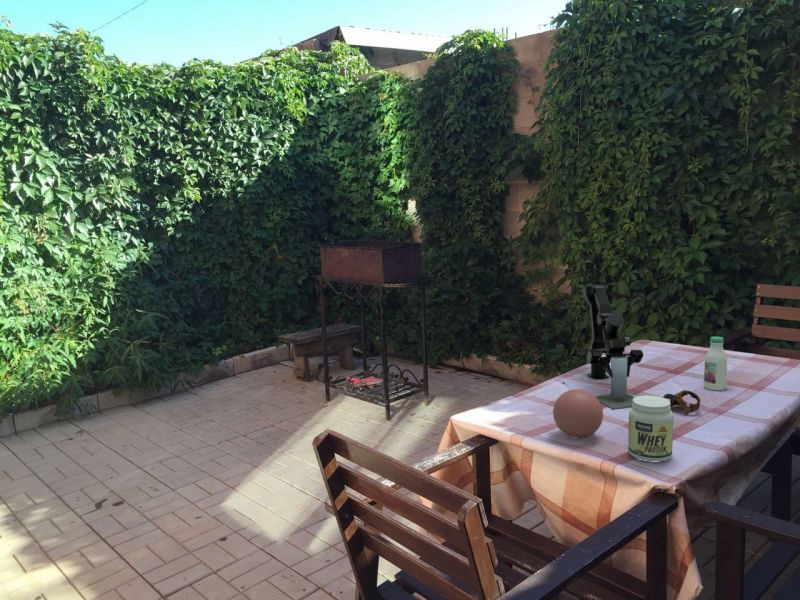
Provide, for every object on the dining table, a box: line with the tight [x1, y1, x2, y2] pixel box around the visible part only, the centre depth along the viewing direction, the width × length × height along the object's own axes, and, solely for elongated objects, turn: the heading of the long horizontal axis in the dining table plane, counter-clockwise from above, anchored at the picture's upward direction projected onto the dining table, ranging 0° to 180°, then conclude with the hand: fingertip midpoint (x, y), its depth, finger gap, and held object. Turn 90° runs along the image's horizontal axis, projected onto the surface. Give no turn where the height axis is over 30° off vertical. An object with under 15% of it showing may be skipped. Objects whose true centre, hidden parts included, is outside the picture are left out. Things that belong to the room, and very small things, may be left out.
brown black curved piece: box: [662, 389, 701, 416], centre depth 224 cm, size 12×10×8 cm
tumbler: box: [610, 356, 628, 397], centre depth 235 cm, size 6×6×14 cm
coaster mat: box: [594, 393, 636, 410], centre depth 237 cm, size 14×14×1 cm
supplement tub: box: [627, 395, 674, 462], centre depth 188 cm, size 12×12×17 cm
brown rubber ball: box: [552, 388, 604, 439], centre depth 207 cm, size 15×20×15 cm
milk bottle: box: [703, 336, 728, 392], centre depth 245 cm, size 8×8×20 cm
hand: (619, 377), depth 234 cm, fingers closed on tumbler, 6 cm apart
